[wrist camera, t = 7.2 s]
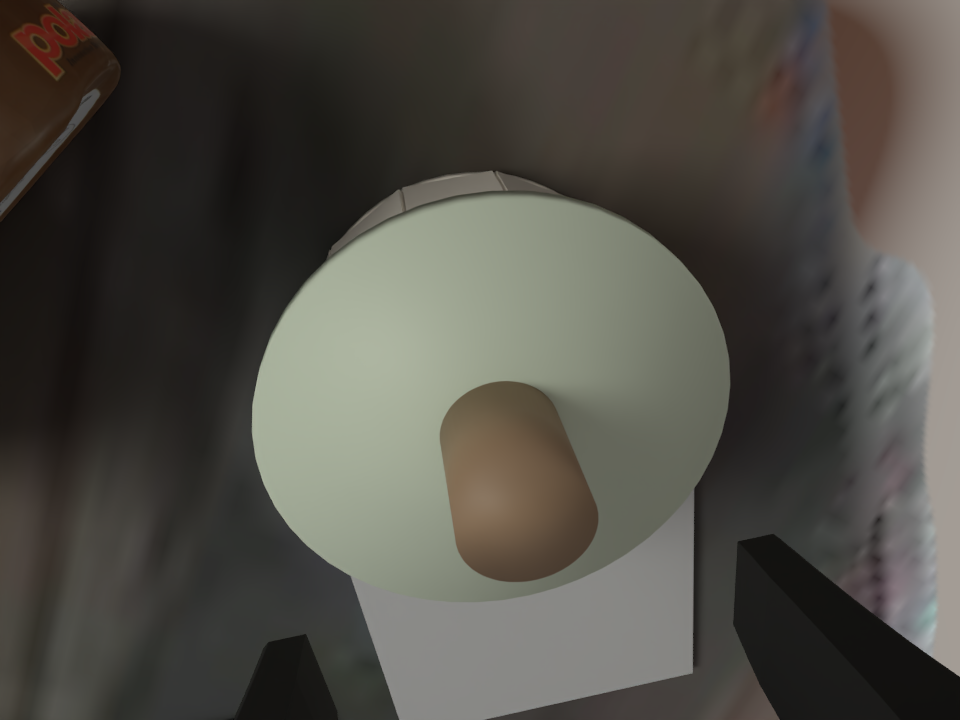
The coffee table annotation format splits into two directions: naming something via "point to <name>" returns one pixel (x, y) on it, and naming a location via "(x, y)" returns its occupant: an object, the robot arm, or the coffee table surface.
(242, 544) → the coffee table surface
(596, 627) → the mat
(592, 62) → the coffee table surface
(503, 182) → the bowl
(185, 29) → the coffee table surface
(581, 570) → the lid
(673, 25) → the coffee table surface
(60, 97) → the tin
